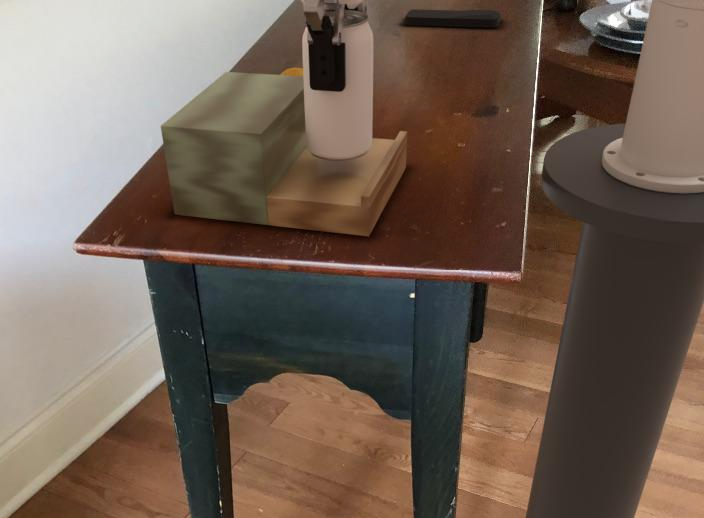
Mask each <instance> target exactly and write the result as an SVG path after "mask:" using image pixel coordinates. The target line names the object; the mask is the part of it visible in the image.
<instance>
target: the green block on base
mask: <svg viewBox="0 0 704 518" xmlns="http://www.w3.org/2000/svg"><path fill="white" fill-rule="evenodd" d="M160 131H161V138H162V144H163V150H164V156H165V163H166V168H167V174H168V181H169V182H168V183H169V187H170V194H171V200H172V206H173V212H174V215H175V216H184V217H190V218H199V219H210V220H219V221H226V222H227V221H228V222H237V223H245V224H254V225H262V226H272V227H278V228H279V227H280V228H290V229H298V230H307V231H316V232H325V233H333V234H342V235H351V236H352V235H353V236H360V237H370V235H371V234H372V232H373V229H374V228H375V226H376V224H377V222H378V220H379V219H380V216H381V215H382V213H383V211H384V209H385V207H386V205H387V204H388V202H389V200H390V198H391V196H392V195H393V192H394V191H395V189H396V187H397V185H398V184H399V181H400V180H401V178H402V176H403V174H404V172H405V170H406V168H407V152H408V151H407V149H408V131H406V130H405V131H404V130H399V132H398V133H397V135H396V137H395V138H394V139H388V138H378V137H377V138H376V137H372V146H371V148H370V149H369V150H368V152H367V153H366V154H365V155H363V156H361V157H358V158H355V159H351V160H344V161H331V160H324V159H320V158H317V157H315V156H313V155H312V154H311V153H310V152H309V150H308V149H307V146H306V129H305V106H304V81H303V76H289V75H281V74H270V73H269V74H268V73H255V72H254V73H252V72H235V71H225V72H224V73H222V75H221V76H218V78H217V79H215V80H214V81H213V82H212V83H210V85H208V86H207V87H206V88H205V89H203V90H202V91H201V92H200V93H198V95H196V96H195V97H193V98H192V99H191V100H190V101H188V102H187V103H186V104H185V105H184V106H183V107H181V108H180V109H179V110H178V111H176V113H174V114H173V115H172V116H170V118H168V119H167V120H166V121H165V122H163V123H162V124H161V125H160Z"/></svg>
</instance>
